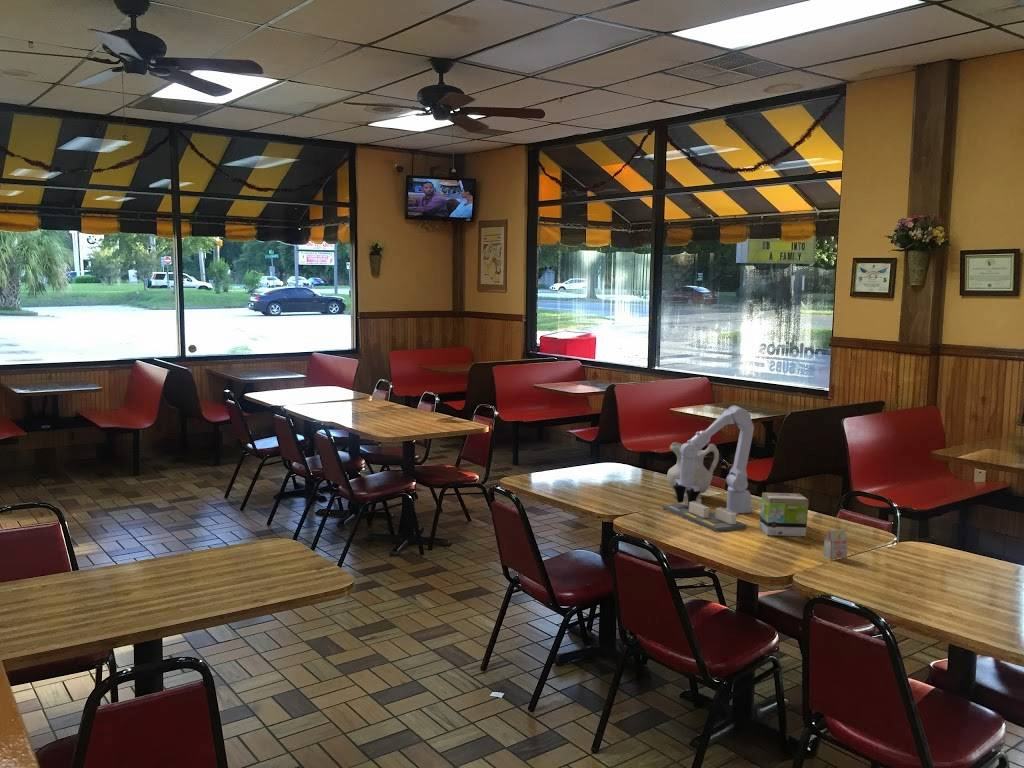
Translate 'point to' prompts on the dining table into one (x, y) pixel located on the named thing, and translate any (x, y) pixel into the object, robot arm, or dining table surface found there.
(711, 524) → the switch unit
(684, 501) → the slider
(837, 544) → the white gable top carton
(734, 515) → the slider
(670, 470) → the ceramic pitcher
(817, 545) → the dining table surface
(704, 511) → the slider
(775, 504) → the tea box
